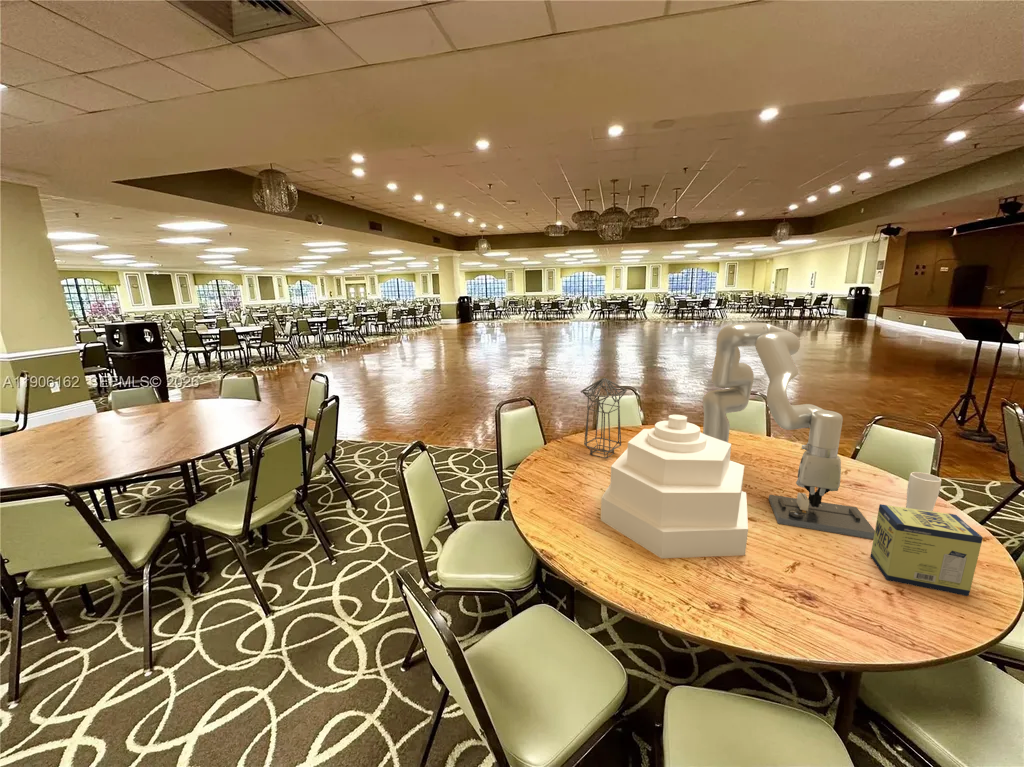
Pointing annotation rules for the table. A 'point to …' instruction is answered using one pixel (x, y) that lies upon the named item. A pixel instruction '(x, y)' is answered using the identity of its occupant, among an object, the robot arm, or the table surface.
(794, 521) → the console
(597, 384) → the geometric lantern
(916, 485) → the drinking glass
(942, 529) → the protein box
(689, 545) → the tiered cake
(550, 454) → the table surface
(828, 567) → the table surface
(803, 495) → the fader
